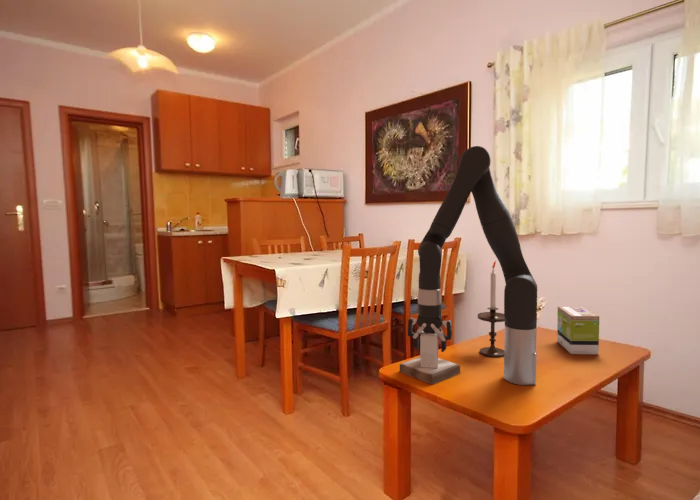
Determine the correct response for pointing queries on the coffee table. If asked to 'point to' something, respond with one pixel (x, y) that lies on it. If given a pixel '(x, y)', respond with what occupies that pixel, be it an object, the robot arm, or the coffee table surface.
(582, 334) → the tea box
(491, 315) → the candlestick
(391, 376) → the coffee table surface
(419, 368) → the tray
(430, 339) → the small box
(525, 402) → the coffee table surface
